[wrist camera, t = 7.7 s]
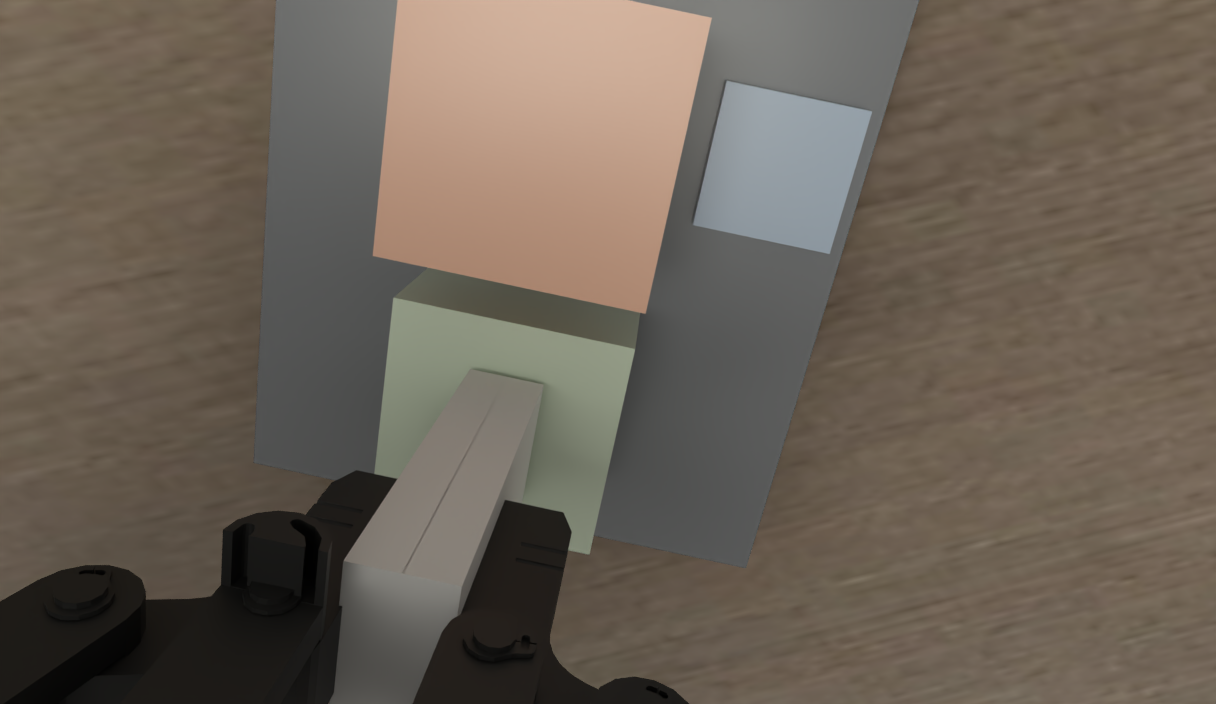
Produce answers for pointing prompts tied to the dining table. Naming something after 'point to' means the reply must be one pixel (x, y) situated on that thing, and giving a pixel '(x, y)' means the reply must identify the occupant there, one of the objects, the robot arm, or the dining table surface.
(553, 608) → the robot arm
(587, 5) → the key terracotta
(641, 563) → the dining table surface
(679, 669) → the dining table surface
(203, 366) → the dining table surface
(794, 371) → the keypad
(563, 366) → the key sage
